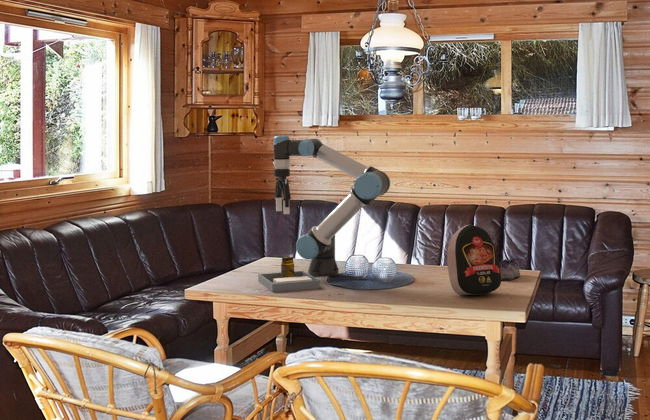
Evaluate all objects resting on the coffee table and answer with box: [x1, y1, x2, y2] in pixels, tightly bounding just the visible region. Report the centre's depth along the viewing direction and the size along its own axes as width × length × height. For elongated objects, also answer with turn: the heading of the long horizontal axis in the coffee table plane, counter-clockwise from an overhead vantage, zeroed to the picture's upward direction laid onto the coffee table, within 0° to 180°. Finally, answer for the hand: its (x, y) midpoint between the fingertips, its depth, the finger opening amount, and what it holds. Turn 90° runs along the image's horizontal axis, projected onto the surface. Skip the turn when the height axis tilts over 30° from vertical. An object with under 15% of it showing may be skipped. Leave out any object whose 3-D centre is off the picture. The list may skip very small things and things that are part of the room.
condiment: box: [280, 255, 295, 278], centre depth 406 cm, size 7×8×12 cm
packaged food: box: [446, 224, 502, 296], centre depth 379 cm, size 22×20×30 cm
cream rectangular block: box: [273, 276, 312, 284], centre depth 395 cm, size 16×8×4 cm, turn 108°
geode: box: [499, 257, 521, 281], centre depth 416 cm, size 20×12×10 cm, turn 150°
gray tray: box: [257, 270, 321, 293], centre depth 402 cm, size 22×26×4 cm
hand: (282, 212), depth 421 cm, fingers open, 13 cm apart
